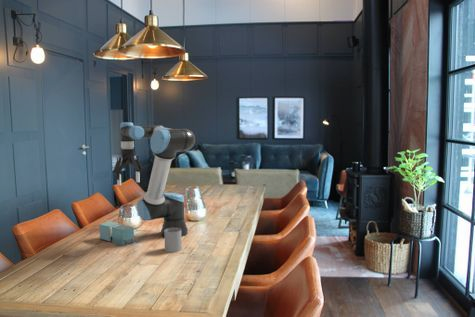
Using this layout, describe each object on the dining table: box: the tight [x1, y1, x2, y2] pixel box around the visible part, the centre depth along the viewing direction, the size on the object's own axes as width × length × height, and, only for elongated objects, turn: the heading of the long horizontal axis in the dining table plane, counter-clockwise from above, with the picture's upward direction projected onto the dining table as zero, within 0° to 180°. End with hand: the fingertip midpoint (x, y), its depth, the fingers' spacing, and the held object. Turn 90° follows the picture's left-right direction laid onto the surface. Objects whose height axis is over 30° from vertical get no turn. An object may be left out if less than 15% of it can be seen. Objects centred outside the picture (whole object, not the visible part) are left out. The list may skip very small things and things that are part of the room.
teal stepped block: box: [110, 224, 135, 247], centre depth 215 cm, size 20×7×8 cm, turn 53°
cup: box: [163, 228, 183, 253], centre depth 200 cm, size 8×8×10 cm
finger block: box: [98, 221, 121, 242], centre depth 218 cm, size 10×7×8 cm
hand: (128, 183), depth 240 cm, fingers open, 13 cm apart
